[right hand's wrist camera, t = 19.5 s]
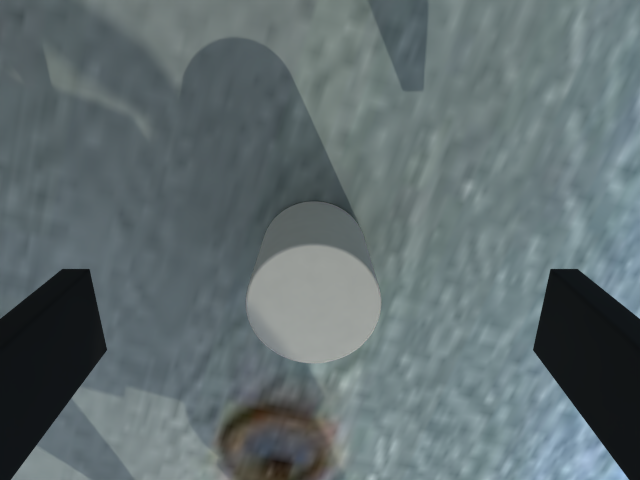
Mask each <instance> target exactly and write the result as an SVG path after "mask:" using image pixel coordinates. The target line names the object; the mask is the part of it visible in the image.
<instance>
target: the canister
mask: <svg viewBox="0 0 640 480" xmlns="http://www.w3.org/2000/svg"><path fill="white" fill-rule="evenodd" d="M246 312H247V317H248V320H249V323H250V325H251V327H252V329H253V331H254V332H255V334H256V335H257V337H258V338H259V339H260V340H261V341H262V342H263V344H264V345H266V346H267V347H268V348H269V349H270V350H272V351H273V352H275V353H277V354H278V355H280V356H282V357H285V358H287V359H290V360H293V361H298V362H303V363H324V362H329V361H334V360H337V359H340V358H342V357H344V356H347V355H349V354H350V353H352V352H354V351H355V350H356V349H358V348H359V347H360V346H361V345H363V343H364V342H365V341H366V340H367V339H368V338H369V337H370V335H371V334H372V332H373V331H374V329H375V327H376V325H377V322H378V320H379V316H380V312H381V293H380V289H379V285H378V282H377V278H376V275H375V272H374V268H373V265H372V262H371V258H370V255H369V252H368V248H367V245H366V242H365V238H364V235H363V233H362V230H361V228H360V226H359V225H358V223H357V222H356V221H355V219H354V218H353V217H352V216H351V215H350V214H348V213H347V212H346V211H345V210H343V209H341V208H339V207H337V206H335V205H333V204H329V203H326V202H319V201H309V202H303V203H298V204H295V205H293V206H290V207H289V208H287V209H285V210H284V211H282V212H281V213H279V214H278V215H277V216H276V217H275V218H274V219H273V221H272V222H271V223H270V225H269V227H268V228H267V230H266V233H265V235H264V238H263V241H262V244H261V248H260V251H259V254H258V257H257V260H256V263H255V266H254V269H253V273H252V276H251V279H250V282H249V285H248V289H247V293H246Z"/></svg>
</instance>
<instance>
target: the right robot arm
mask: <svg viewBox="0 0 640 480" xmlns="http://www.w3.org/2000/svg"><path fill="white" fill-rule="evenodd" d="M106 350H107V348H106V343H105V339H104V334H103V330H102V325H101V320H100V316H99V311H98V307H97V302H96V297H95V293H94V288H93V283H92V279H91V274H90V270H89V269H62V270H61V271H59V272H58V273H57V274H56V275H55V276H53V277H52V278H51V279H50V280H48V281H47V282H46V283H45V284H43V285H42V286H41V287H40V288H38V289H37V290H36V291H35V292H33V293H32V294H31V295H30V296H28V297H27V298H26V299H25V300H23V301H22V302H21V303H20V304H18V305H17V306H16V307H15V308H13V309H12V310H11V311H10V312H8V313H7V314H6V315H5V316H3V317H2V318H1V319H0V480H11V479H12V477H13V476H14V475H15V473H16V472H17V471H18V469H19V468H20V467H21V465H22V464H23V462H24V461H25V460H26V458H27V457H28V456H29V454H30V453H31V452H32V450H33V449H34V448H35V446H36V445H37V444H38V442H39V441H40V440H41V438H42V437H43V435H44V434H45V433H46V431H47V430H48V429H49V427H50V426H51V425H52V423H53V422H54V421H55V419H56V418H57V417H58V415H59V414H60V413H61V411H62V410H63V408H64V407H65V406H66V404H67V403H68V402H69V400H70V399H71V398H72V396H73V395H74V394H75V392H76V391H77V390H78V388H79V387H80V386H81V384H82V383H83V382H84V380H85V379H86V377H87V376H88V375H89V373H90V372H91V371H92V369H93V368H94V367H95V365H96V364H97V363H98V361H99V360H100V359H101V357H102V356H103V355H104V353H105V352H106ZM533 350H534V352H535V353H536V355H537V356H538V357H539V359H540V360H541V361H542V363H543V364H544V365H545V367H546V368H547V369H548V371H549V372H550V373H551V375H552V376H553V377H554V379H555V380H556V382H557V383H558V384H559V386H560V387H561V388H562V390H563V391H564V392H565V394H566V395H567V396H568V398H569V399H570V400H571V402H572V403H573V404H574V406H575V407H576V409H577V410H578V411H579V413H580V414H581V415H582V417H583V418H584V419H585V421H586V422H587V423H588V425H589V426H590V427H591V429H592V430H593V431H594V433H595V434H596V435H597V437H598V438H599V440H600V441H601V442H602V444H603V445H604V446H605V448H606V449H607V450H608V452H609V453H610V454H611V456H612V457H613V458H614V460H615V461H616V462H617V464H618V465H619V467H620V468H621V469H622V471H623V472H624V473H625V475H626V476H627V477H628V479H629V480H640V319H639V318H638V317H637V316H635V315H634V314H633V313H632V312H630V311H629V310H628V309H627V308H625V307H624V306H623V305H622V304H620V303H619V302H618V301H617V300H615V299H614V298H613V297H612V296H610V295H609V294H608V293H607V292H605V291H604V290H603V289H602V288H600V287H599V286H598V285H597V284H595V283H594V282H593V281H592V280H590V279H589V278H588V277H587V276H585V275H584V274H583V273H582V272H581V271H579V270H578V269H551V270H550V274H549V279H548V283H547V288H546V293H545V297H544V302H543V307H542V311H541V316H540V320H539V325H538V330H537V334H536V339H535V343H534V348H533Z"/></svg>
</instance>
